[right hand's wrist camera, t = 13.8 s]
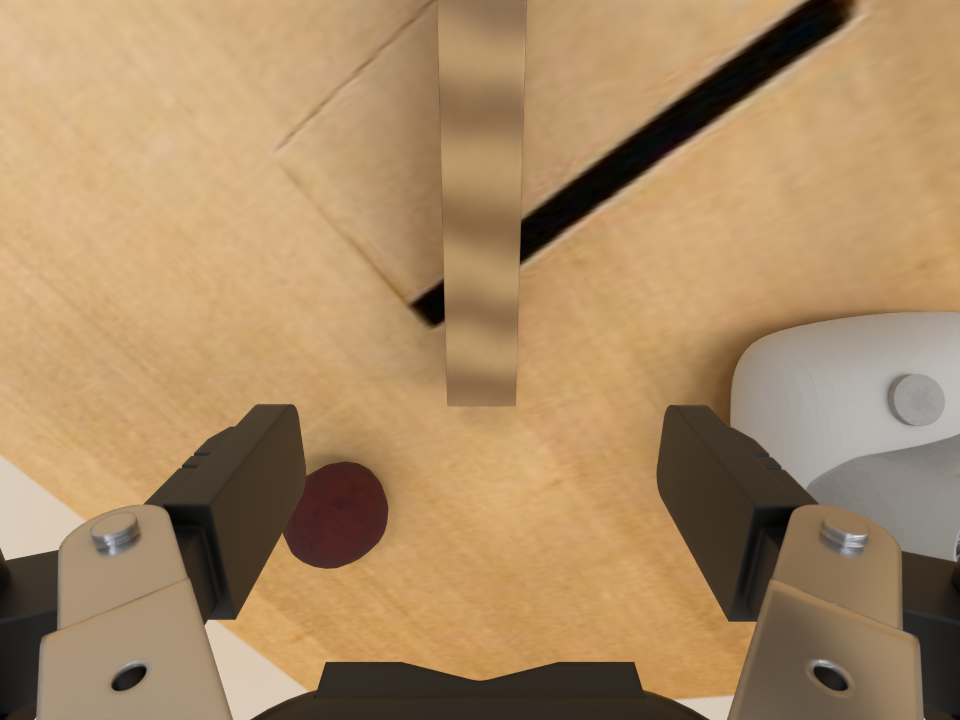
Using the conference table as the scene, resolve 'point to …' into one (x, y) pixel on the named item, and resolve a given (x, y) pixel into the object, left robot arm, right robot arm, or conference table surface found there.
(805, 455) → the white slotted rounded device
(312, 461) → the conference table surface
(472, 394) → the beam
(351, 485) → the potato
